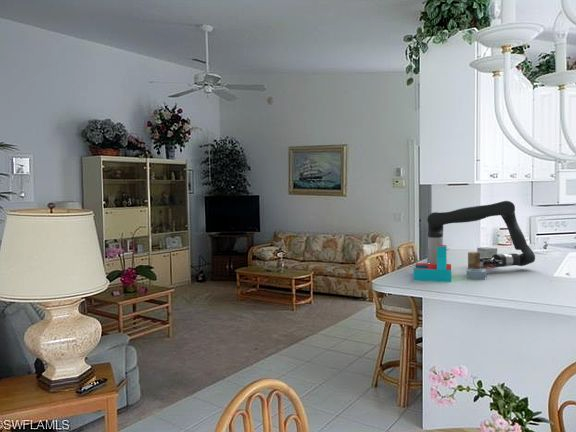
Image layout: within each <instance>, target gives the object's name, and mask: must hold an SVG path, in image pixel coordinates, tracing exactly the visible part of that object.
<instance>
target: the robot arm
mask: <svg viewBox="0 0 576 432" xmlns="http://www.w3.org/2000/svg"><path fill="white" fill-rule="evenodd" d="M515 211H516V207H515V204H514V203H513V202H512V201H509V200H504V201H499V202H495V203H492V204H484V205H475V206H467V207H461V208H458V209H455V210H450V211H445V212H443V211H442V212H439V211H434V212H431V213H430V214H429V215H428V216H427V218H426V219H427V223H428V226H427V227H428V230H427V231H428V232H427V250H426V252H427V253H426V254H427V255H426V263H430V264H437V245H444V225H448V224H458V223H459V224H462V223H470V222H471V223H472V222H477V221H481V220H483V219H486V218H489V217H493V216H494V217H497V216H501V218H502V220H503V221H504V224H505V225H506V228H507V230H508V233H509V236H510V240H511V243H512V244H513V247H514V250H516V251H521V253H520V254H518V253H497V254H495V255H493V256H492V257H488V258H487V257H481V258H480V263H483V264H484V265H494V266H495V267H494V268H500V267H501V268H504V267H512V266H519V267H523V266H524V267H525V266H528V265H530V264H532V263H534V262H535V261H536V254H535V252H533V250H532V249H531V248H530V246H529V245H528V243H527V240H526V238H525V236H524V233H523V232H522V229H521V227H520V225H519V223H518V221H517V217H516V212H515Z"/></svg>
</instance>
